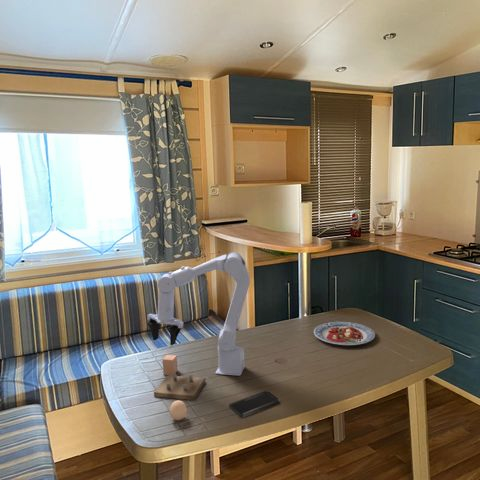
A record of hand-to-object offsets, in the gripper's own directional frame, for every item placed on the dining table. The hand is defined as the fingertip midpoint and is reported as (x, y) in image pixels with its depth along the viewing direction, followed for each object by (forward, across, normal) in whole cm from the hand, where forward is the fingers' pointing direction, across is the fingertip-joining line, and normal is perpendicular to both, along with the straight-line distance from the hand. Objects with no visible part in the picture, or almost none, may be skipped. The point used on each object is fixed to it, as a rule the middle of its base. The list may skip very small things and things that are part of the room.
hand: (164, 341), depth 160 cm
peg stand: (+11, +13, -9) cm, 19 cm away
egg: (+11, +23, -24) cm, 35 cm away
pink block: (+12, +3, +1) cm, 12 cm away
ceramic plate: (+4, +56, +55) cm, 79 cm away
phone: (+8, +41, -8) cm, 42 cm away
